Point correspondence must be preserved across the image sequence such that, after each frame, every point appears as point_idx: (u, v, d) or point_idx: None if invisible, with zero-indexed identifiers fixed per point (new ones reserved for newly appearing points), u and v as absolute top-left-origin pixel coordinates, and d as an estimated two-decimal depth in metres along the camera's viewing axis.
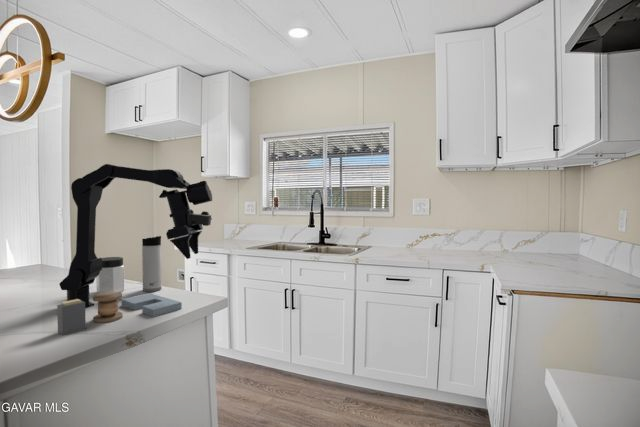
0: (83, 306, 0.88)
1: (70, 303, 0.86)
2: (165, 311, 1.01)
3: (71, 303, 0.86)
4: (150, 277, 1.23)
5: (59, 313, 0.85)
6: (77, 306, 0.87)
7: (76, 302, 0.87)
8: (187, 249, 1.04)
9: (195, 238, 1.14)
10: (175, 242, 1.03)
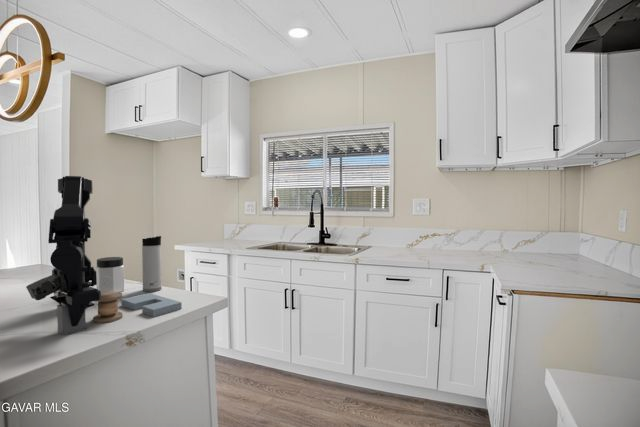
0: None
1: None
2: (165, 311, 1.01)
3: None
4: (150, 277, 1.23)
5: (59, 313, 0.85)
6: None
7: None
8: None
9: None
10: None
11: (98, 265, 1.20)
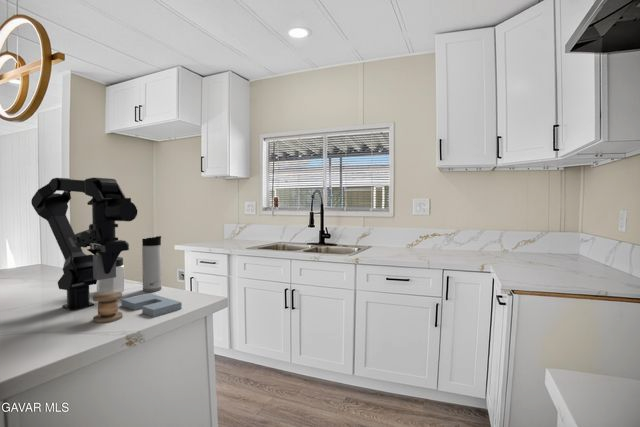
0: None
1: None
2: (165, 311, 1.01)
3: None
4: (150, 277, 1.23)
5: (94, 262, 1.00)
6: None
7: None
8: None
9: None
10: None
11: None
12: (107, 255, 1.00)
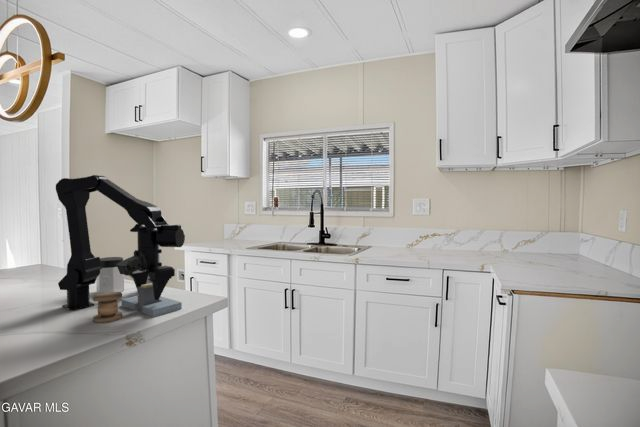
0: None
1: (148, 286, 1.04)
2: (165, 311, 1.01)
3: (149, 286, 1.04)
4: None
5: (140, 294, 1.03)
6: None
7: (152, 285, 1.05)
8: None
9: None
10: None
11: None
12: (157, 282, 1.01)
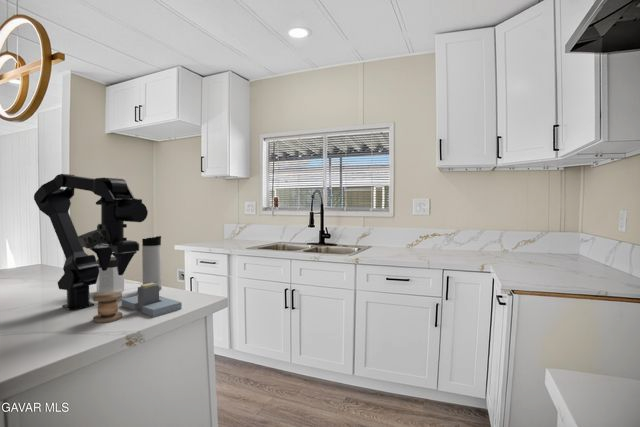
0: (157, 288, 1.06)
1: (148, 286, 1.04)
2: (165, 311, 1.01)
3: (149, 286, 1.04)
4: (150, 277, 1.23)
5: (140, 294, 1.03)
6: (153, 288, 1.04)
7: (152, 285, 1.05)
8: None
9: None
10: None
11: None
12: (121, 256, 0.98)
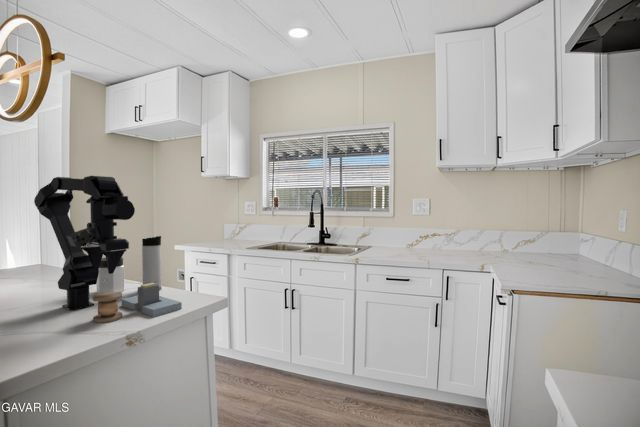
0: (157, 288, 1.06)
1: (148, 286, 1.04)
2: (165, 311, 1.01)
3: (149, 286, 1.04)
4: (150, 277, 1.23)
5: (140, 294, 1.03)
6: (153, 288, 1.04)
7: (152, 285, 1.05)
8: None
9: None
10: None
11: None
12: (111, 255, 0.98)
